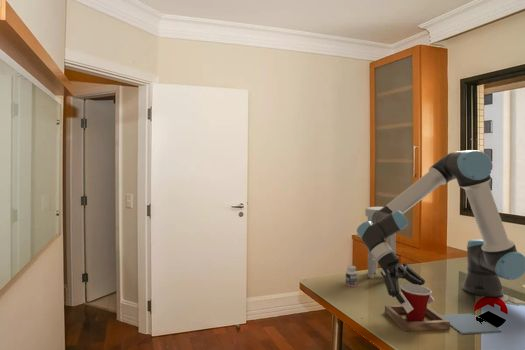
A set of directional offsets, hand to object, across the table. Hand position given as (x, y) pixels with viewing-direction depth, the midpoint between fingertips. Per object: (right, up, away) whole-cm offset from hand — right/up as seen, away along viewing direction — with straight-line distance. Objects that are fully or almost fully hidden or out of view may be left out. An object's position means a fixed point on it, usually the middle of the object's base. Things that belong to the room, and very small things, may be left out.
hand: (421, 306), depth 125 cm
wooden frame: (-1, -6, +2) cm, 6 cm away
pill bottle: (-15, -5, +41) cm, 44 cm away
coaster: (+16, -6, -2) cm, 17 cm away
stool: (+4, -5, +54) cm, 54 cm away
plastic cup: (-1, -6, +2) cm, 6 cm away
